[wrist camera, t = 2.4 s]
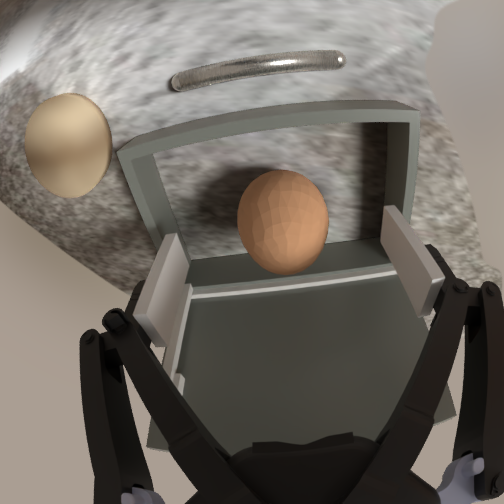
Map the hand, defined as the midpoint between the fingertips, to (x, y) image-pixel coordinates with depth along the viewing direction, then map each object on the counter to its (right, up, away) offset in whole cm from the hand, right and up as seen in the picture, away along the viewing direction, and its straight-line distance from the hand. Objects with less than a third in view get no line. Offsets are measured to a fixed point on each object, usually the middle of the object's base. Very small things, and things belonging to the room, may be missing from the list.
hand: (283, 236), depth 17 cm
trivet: (-17, +8, +1) cm, 19 cm away
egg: (0, +4, +4) cm, 5 cm away
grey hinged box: (0, +4, +4) cm, 5 cm away
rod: (-1, +11, -2) cm, 11 cm away
